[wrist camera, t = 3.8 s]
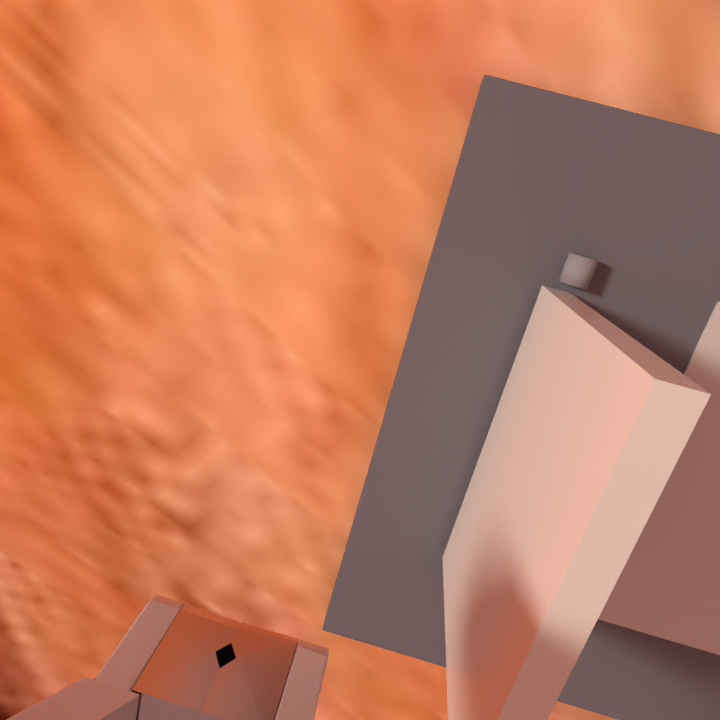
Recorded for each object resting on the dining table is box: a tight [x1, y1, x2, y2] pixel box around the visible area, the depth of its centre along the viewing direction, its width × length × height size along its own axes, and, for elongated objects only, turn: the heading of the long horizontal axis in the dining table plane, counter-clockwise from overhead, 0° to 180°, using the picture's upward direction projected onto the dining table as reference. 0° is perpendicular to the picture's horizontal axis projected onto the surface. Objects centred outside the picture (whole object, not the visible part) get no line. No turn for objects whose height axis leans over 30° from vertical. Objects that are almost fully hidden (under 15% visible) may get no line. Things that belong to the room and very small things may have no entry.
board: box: [322, 75, 720, 720], centre depth 21 cm, size 24×22×2 cm
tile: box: [443, 285, 711, 720], centre depth 16 cm, size 12×1×10 cm, turn 165°
